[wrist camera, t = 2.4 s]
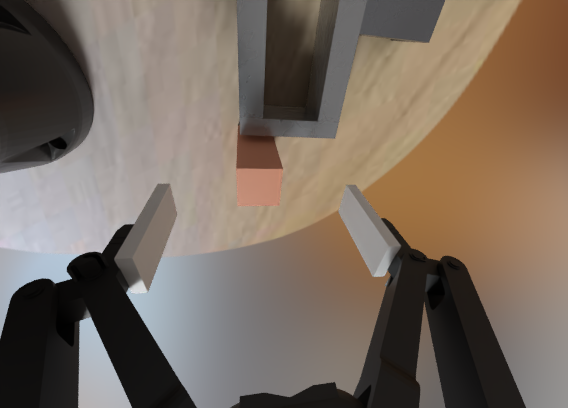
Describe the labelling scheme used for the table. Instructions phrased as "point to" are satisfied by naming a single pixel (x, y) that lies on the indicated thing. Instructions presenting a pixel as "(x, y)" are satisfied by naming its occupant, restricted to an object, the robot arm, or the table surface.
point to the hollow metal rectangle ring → (321, 59)
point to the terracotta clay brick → (258, 171)
